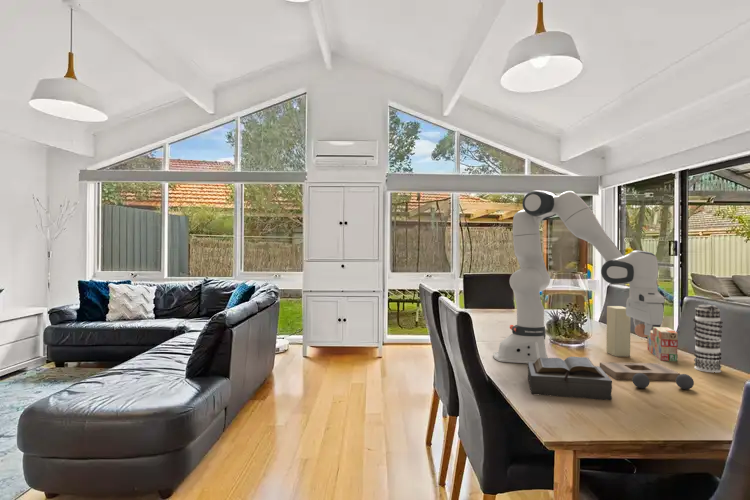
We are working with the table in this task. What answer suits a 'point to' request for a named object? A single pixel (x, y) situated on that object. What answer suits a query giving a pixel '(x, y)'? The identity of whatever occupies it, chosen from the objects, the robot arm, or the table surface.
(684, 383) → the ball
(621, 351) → the toy refrigerator
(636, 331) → the terracotta ball
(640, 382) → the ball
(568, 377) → the bible
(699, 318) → the black white tall cylinder
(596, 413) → the table surface
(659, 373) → the walnut board
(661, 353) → the stack of blocks
